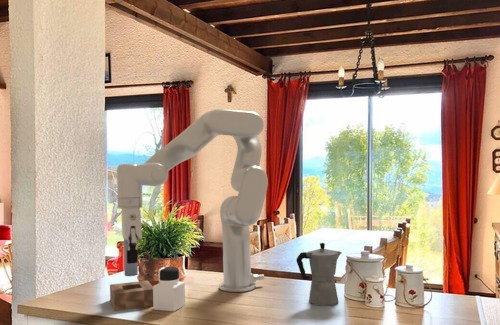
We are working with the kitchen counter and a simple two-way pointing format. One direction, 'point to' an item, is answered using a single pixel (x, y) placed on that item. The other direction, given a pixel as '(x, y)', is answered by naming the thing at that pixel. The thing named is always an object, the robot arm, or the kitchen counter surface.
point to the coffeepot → (321, 275)
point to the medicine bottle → (168, 290)
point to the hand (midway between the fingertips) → (131, 261)
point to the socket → (131, 295)
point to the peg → (132, 267)
